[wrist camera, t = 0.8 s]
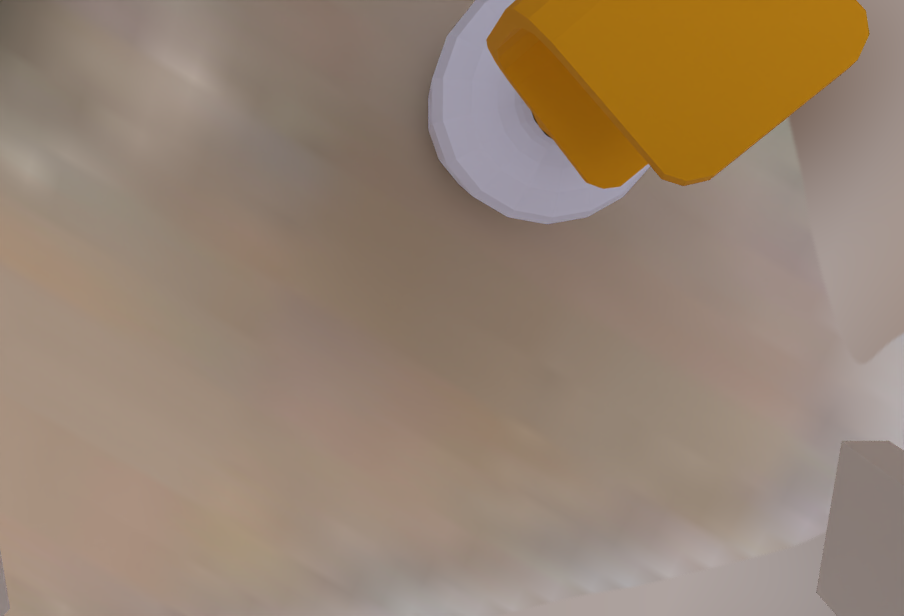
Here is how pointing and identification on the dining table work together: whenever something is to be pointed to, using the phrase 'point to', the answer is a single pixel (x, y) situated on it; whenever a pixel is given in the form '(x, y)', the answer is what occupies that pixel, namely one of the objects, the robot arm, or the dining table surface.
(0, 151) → the dining table surface
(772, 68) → the soap bottle
